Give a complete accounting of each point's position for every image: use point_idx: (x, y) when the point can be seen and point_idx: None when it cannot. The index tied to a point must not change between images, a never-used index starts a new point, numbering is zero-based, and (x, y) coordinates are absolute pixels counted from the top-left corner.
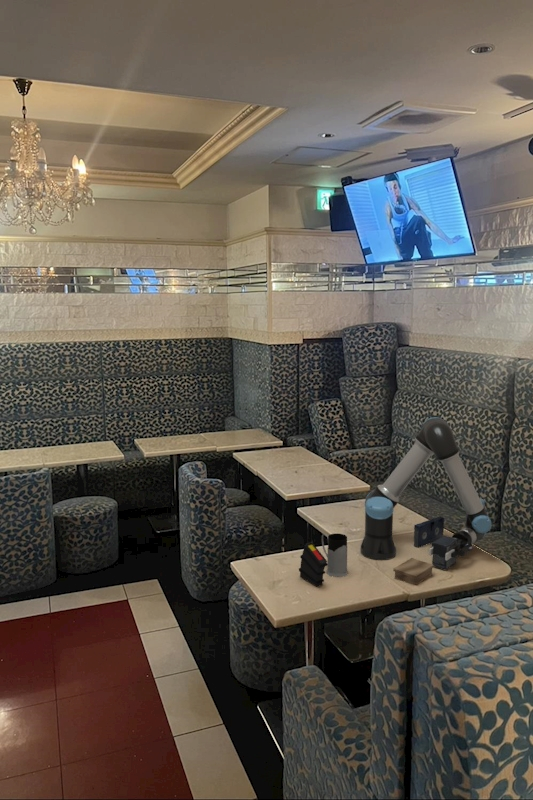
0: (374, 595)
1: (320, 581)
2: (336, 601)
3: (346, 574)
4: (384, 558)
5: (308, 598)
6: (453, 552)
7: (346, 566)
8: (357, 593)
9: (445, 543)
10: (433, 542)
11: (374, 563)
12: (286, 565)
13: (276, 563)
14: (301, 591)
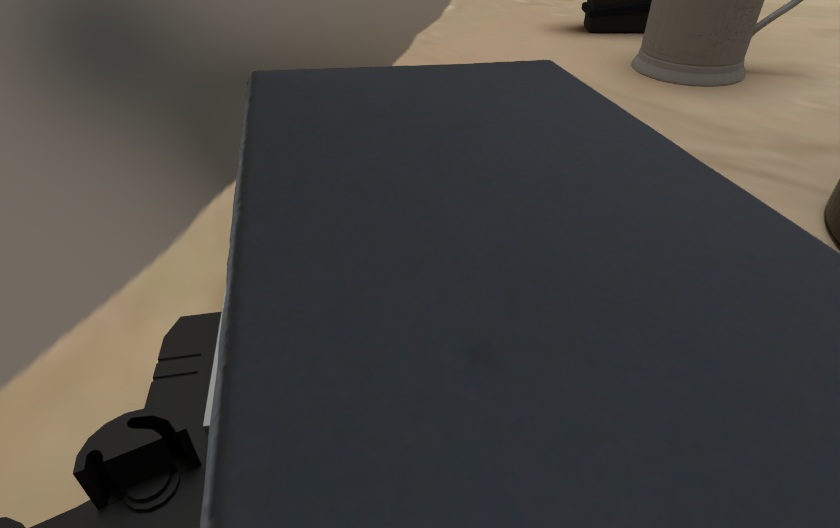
0: (413, 62)
1: (585, 8)
2: (460, 22)
3: (643, 70)
4: (831, 210)
5: (522, 9)
6: (206, 372)
7: (663, 32)
8: (466, 49)
9: (337, 93)
10: (551, 61)
11: (764, 168)
12: (809, 31)
13: (836, 26)
14: (574, 11)
